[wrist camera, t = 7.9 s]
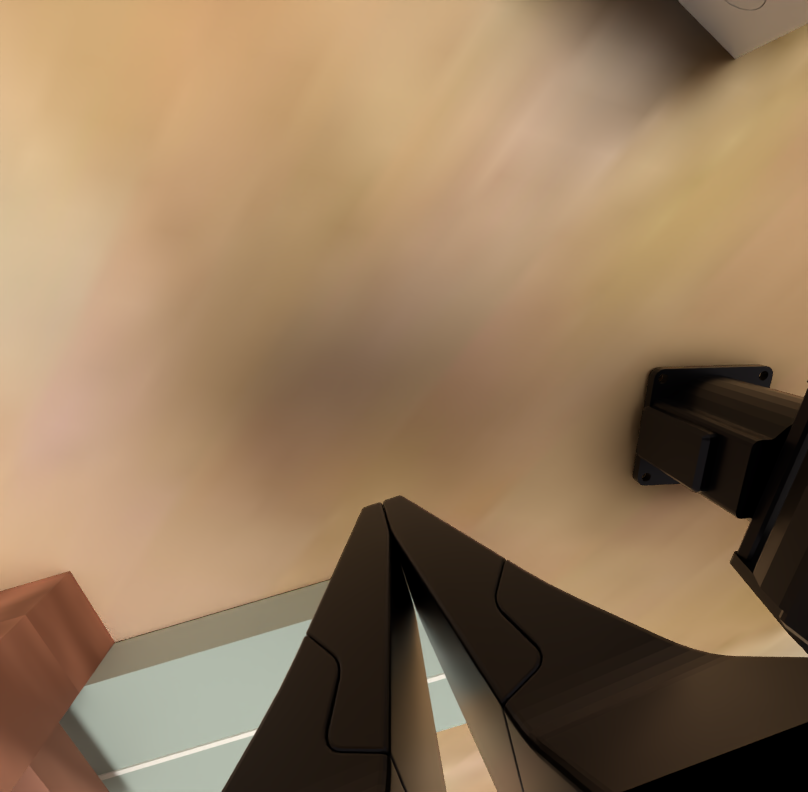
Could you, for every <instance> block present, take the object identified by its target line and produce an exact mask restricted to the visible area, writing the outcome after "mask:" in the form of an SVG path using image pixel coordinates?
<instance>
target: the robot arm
mask: <svg viewBox="0 0 808 792" xmlns="http://www.w3.org/2000/svg"><path fill="white" fill-rule="evenodd" d="M760 373H761V375H760ZM662 374H663V377H662V379H661V380H660V381H659V377H660V376H661V375H662ZM759 375H760V377H759ZM772 376H773V371H772V369H771V368H770V367H767V366H763V365H729V366H693V367H659V368H655V369H654V370H652V372H651V373H650V375H649V379H648V385H647V391H646V397H645V403H644V410H643V413H642V419H641V425H640V432H639V438H638V444H637V450H636V459H635V465H634V471H633V478H634V480H635V481H637V482H638V483H639V484H641V485H664V484H682V485H684V486H685V487H687V488H688V489H690V490H691V491H693V492H696V493H697V492H698V493H699V494H701V495H703V496H704V497H706V498H707V499H709V500H710V501H712V502H713V503H715V504H717V505H718V506H720V507H721V508H723V509H724V510H726V511H728V512H729V513H731V514H732V515H734V516H735V517H737V518H740V519H743V518H745V519H747V520H748V521H750V524H749V526H748V529H747V531H746V533H745V536H744V538H743V540H742V543H741V545H740V547H739V550H738V551H735V552H734V554H733V556H732V558H731V561H730V564H731V565H732V566H733V567H734V569H735V570H736V571H737V572H738V573H739V575H740V576H741V577H742V578H743V579H744V581H745V582H746V583H747V584H748V586H749V587H750V588H751V589H752V590H753V592H754V593H755V594H756V595H757V596H758V598H759V599H760V600H761V601H762V602H763V604H764V605H765V606H766V607H767V608H768V610H769V611H770V612H771V613H772V614H773V616H774V617H775V618H776V619H777V621H778V622H779V623H780V624H781V625H782V627H783V628H784V629H785V630H786V631H787V633H788V634H789V635H790V636H791V637H792V638H793V639H794V640H795V641H796V642H797V643H798V644H799V645H800V646H801V647H802V648H803V649H804V650H805V652H806V653H807V654H808V389H807V391H806V394H805V396H804V397H800V396H796V395H793V394H789V393H785V392H782V391H778V390H774V389H770V384H771V380H772ZM807 382H808V381H807ZM645 473H646V475H645V476H644V477H643V478H642V476H643V475H644V474H645ZM383 506H384V507H383ZM407 584H408V585H407ZM408 587H409V588H408ZM409 590H410V591H409ZM410 593H411V594H410ZM411 597H412V598H411ZM412 600H413V601H412ZM413 603H414V605H415V608H416V611H417V613H418V616H419V618H420V621H421V623H422V625H423V627H424V629H425V632H426V634H427V636H428V638H429V641H430V643H431V645H432V647H433V649H434V652H435V654H436V656H437V658H438V661H439V663H440V665H441V667H442V669H443V672H444V674H445V676H446V678H447V681H448V683H449V685H450V687H451V689H452V692H453V694H454V696H455V698H456V701H457V703H458V705H459V707H460V709H461V712H462V714H463V716H464V718H465V721H466V723H467V725H468V727H469V729H470V732H471V734H472V736H473V738H474V741H475V743H476V745H477V747H478V749H479V752H480V754H481V756H482V758H483V761H484V763H485V765H486V767H487V769H488V772H489V774H490V776H491V778H492V781H493V783H494V785H495V787H496V789H497V792H808V657H751V656H725V655H718V654H711V653H707V652H703V651H699V650H696V649H692V648H689V647H686V646H683V645H681V644H678V643H675V642H673V641H670V640H668V639H666V638H663V637H661V636H659V635H657V634H654V633H652V632H650V631H648V630H646V629H644V628H641V627H639V626H637V625H635V624H633V623H631V622H628V621H626V620H624V619H622V618H620V617H618V616H615V615H613V614H611V613H609V612H607V611H605V610H602V609H600V608H598V607H596V606H594V605H592V604H589V603H587V602H585V601H583V600H581V599H579V598H577V597H575V596H573V595H571V594H569V593H566V592H564V591H562V590H560V589H558V588H556V587H554V586H552V585H550V584H548V583H546V582H545V581H543V580H541V579H539V578H538V577H536V576H534V575H532V574H531V573H529V572H527V571H525V570H523V569H522V568H520V567H518V566H517V565H515V564H514V563H512V562H510V561H509V560H506V559H505V558H503V557H502V556H500V555H498V554H497V553H495V552H494V551H492V550H490V549H489V548H487V547H485V546H484V545H482V544H480V543H479V542H477V541H475V540H474V539H472V538H471V537H469V536H467V535H466V534H464V533H462V532H461V531H459V530H457V529H456V528H454V527H452V526H451V525H449V524H448V523H446V522H444V521H443V520H441V519H439V518H438V517H436V516H434V515H433V514H431V513H429V512H428V511H426V510H424V509H423V508H421V507H420V506H418V505H416V504H415V503H413V502H411V501H410V500H408V499H406V498H405V497H403V496H400V495H399V496H396V497H393V498H390V499H387V500H385V501H384V502H383V505H382V503H376V504H373V505H370V506H367V507H364V508H363V509H362V511H361V513H360V515H359V517H358V520H357V522H356V524H355V526H354V528H353V531H352V533H351V535H350V537H349V539H348V542H347V544H346V546H345V548H344V550H343V553H342V555H341V557H340V559H339V561H338V564H337V566H336V568H335V570H334V573H333V575H332V577H331V579H330V581H329V584H328V586H327V588H326V590H325V592H324V595H323V597H322V599H321V601H320V603H319V606H318V608H317V610H316V612H315V614H314V617H313V619H312V621H311V623H310V625H309V628H308V630H307V632H306V636H305V637H304V638H303V640H302V643H301V645H300V647H299V649H298V651H297V654H296V656H295V658H294V660H293V662H292V664H291V666H290V668H289V670H288V672H287V674H286V676H285V678H284V680H283V682H282V684H281V687H280V689H279V690H278V692H277V694H276V696H275V698H274V699H273V701H272V703H271V705H270V707H269V709H268V710H267V712H266V714H265V716H264V718H263V720H262V721H261V723H260V725H259V727H258V729H257V730H256V732H255V734H254V736H253V737H252V739H251V741H250V742H249V744H248V746H247V748H246V749H245V751H244V753H243V755H242V756H241V758H240V760H239V762H238V763H237V765H236V767H235V769H234V770H233V772H232V774H231V776H230V777H229V779H228V781H227V783H226V784H225V786H224V788H223V789H222V791H221V792H446V786H445V781H444V775H443V769H442V763H441V757H440V752H439V746H438V740H437V734H436V728H435V723H434V717H433V711H432V705H431V699H430V694H429V688H428V682H427V676H426V670H425V665H424V659H423V653H422V647H421V641H420V636H419V630H418V624H417V619H416V614H415V609H414V605H413Z"/></svg>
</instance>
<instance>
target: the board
mask: <svg viewBox="0 0 808 792" xmlns="http://www.w3.org/2000/svg"><path fill="white" fill-rule="evenodd" d="M329 581H330V580H328V581H324V582H321V583H317V584H314V585H311V586H307V587H304V588H300V589H297V590H294V591H290V592H287V593H283V594H280V595H277V596H273V597H270V598H266V599H263V600H260V601H256V602H253V603H249V604H246V605H243V606H239V607H236V608H233V609H229V610H226V611H222V612H219V613H216V614H212V615H209V616H205V617H202V618H199V619H195V620H192V621H188V622H185V623H182V624H178V625H175V626H171V627H168V628H165V629H161V630H158V631H154V632H151V633H148V634H144V635H141V636H137V637H134V638H131V639H127V640H124V641H120V642H117V643H114V644H113V646H112V647H111V648H110V650H109V651H108V653H107V654H106V656H105V657H104V658H103V660H102V661H101V663H100V664H99V666H98V667H97V669H96V670H95V671H94V673H93V674H92V676H91V677H90V679H89V680H88V681H87V683H86V684H85V686H84V687H83V689H82V690H81V692H80V693H79V694H78V696H77V697H76V699H75V700H74V702H73V703H72V704H71V706H70V707H69V709H68V710H67V712H66V713H65V714H64V716H63V717H62V719H61V720H60V722H59V723H60V725H61V726H62V728H63V729H64V730H65V732H66V733H67V734H68V736H69V737H70V738H71V740H72V741H73V743H74V744H75V745H76V747H77V748H78V749H79V751H80V752H81V753H82V755H83V756H84V758H85V759H86V760H87V762H88V763H89V764H90V766H91V767H92V768H93V770H94V771H95V773H96V774H97V775H98V777H99V778H100V779H101V781H102V782H103V783H104V785H105V786H106V788H107V789H108V790H109V792H221V791H222V789H223V788H224V786H225V784H226V783H227V781H228V779H229V777H230V776H231V774H232V772H233V770H234V769H235V767H236V765H237V763H238V762H239V760H240V758H241V756H242V755H243V753H244V751H245V749H246V748H247V746H248V744H249V742H250V741H251V739H252V737H253V736H254V734H255V732H256V730H257V729H258V727H259V725H260V723H261V721H262V720H263V718H264V716H265V714H266V712H267V710H268V709H269V707H270V705H271V703H272V701H273V699H274V698H275V696H276V694H277V692H278V690H279V689H280V687H281V684H282V682H283V680H284V678H285V676H286V674H287V672H288V670H289V668H290V666H291V664H292V662H293V660H294V658H295V656H296V654H297V651H298V649H299V647H300V645H301V643H302V640H303V638H304V637H305V636H306V632H307V630H308V628H309V625H310V623H311V621H312V619H313V617H314V614H315V612H316V610H317V608H318V606H319V603H320V601H321V599H322V597H323V595H324V592H325V590H326V588H327V586H328V584H329ZM407 585H408V584H407ZM408 588H409V587H408ZM409 591H410V590H409ZM410 594H411V593H410ZM411 598H412V597H411ZM412 601H413V600H412ZM413 605H414V603H413ZM414 609H415V614H416V619H417V624H418V630H419V636H420V641H421V647H422V653H423V659H424V665H425V670H426V676H427V682H428V688H429V694H430V699H431V705H432V711H433V717H434V723H435V728H436V732H439V731H442V730H446V729H449V728H452V727H456V726H459V725H462V724H466V721H465V718H464V716H463V714H462V712H461V709H460V707H459V705H458V703H457V701H456V698H455V696H454V694H453V692H452V689H451V687H450V685H449V683H448V681H447V678H446V676H445V674H444V672H443V669H442V667H441V665H440V663H439V661H438V658H437V656H436V654H435V652H434V649H433V647H432V645H431V643H430V641H429V638H428V636H427V634H426V632H425V629H424V627H423V625H422V623H421V621H420V618H419V616H418V613H417V611H416V608H415V605H414Z"/></svg>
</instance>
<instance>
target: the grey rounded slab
mask: <svg viewBox="0 0 808 792" xmlns="http://www.w3.org/2000/svg"><path fill="white" fill-rule="evenodd" d="M678 1H679V2H680V3H681V5H682V6H683V7H684V8H685V9H686V10H687V11H688V12H689V13H690V14H691V15H692V16H693V17H694V18H695V19H696V20H697V21H698V22H699V23H700V24H701V25H702V26H703V27H704V28H705V29H706V30H707V31H708V32H709V33H710V34H711V35H712V36H713V37H714V38H715V39H716V40H717V41H718V42H719V43H720V44H721V45H722V46H723V47H724V48H725V49H726V50H727V51H728V52H729V53H730V54H731V55H732V56H733V57H734V58H735V59H737V58H739V57H741V56H743V55H745V54H747V53H749V52H751V51H753V50H755V49H757V48H759V47H761V46H763V45H765V44H767V43H769V42H771V41H773V40H775V39H777V38H779V37H781V36H783V35H785V34H787V33H789V32H791V31H793V30H795V29H797V28H799V27H801V26H803V25H805V24H807V23H808V0H678Z"/></svg>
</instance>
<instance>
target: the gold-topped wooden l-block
mask: <svg viewBox="0 0 808 792" xmlns="http://www.w3.org/2000/svg"><path fill="white" fill-rule="evenodd" d="M114 643H115V642H114V640H113V639H112V637H111V636H110V634H109V632H108V631H107V629H106V628H105V626H104V625H103V623H102V621H101V620H100V618H99V617H98V615H97V613H96V612H95V610H94V609H93V607H92V605H91V604H90V602H89V601H88V599H87V597H86V596H85V594H84V593H83V591H82V589H81V588H80V586H79V585H78V583H77V581H76V580H75V578H74V577H73V575H72V573H71V572H70V571H69V572H66V573H62V574H59V575H55V576H52V577H48V578H45V579H41V580H38V581H35V582H31V583H28V584H24V585H21V586H17V587H14V588H10V589H7V590H3V591H0V792H109V790H108V789H107V788H106V786H105V785H104V783H103V782H102V781H101V779H100V778H99V777H98V775H97V774H96V773H95V771H94V770H93V768H92V767H91V766H90V764H89V763H88V762H87V760H86V759H85V758H84V756H83V755H82V753H81V752H80V751H79V749H78V748H77V747H76V745H75V744H74V743H73V741H72V740H71V738H70V737H69V736H68V734H67V733H66V732H65V730H64V729H63V728H62V726H61V725H60V723H59V722H60V720H61V719H62V717H63V716H64V714H65V713H66V712H67V710H68V709H69V707H70V706H71V704H72V703H73V702H74V700H75V699H76V697H77V696H78V694H79V693H80V692H81V690H82V689H83V687H84V686H85V684H86V683H87V681H88V680H89V679H90V677H91V676H92V674H93V673H94V671H95V670H96V669H97V667H98V666H99V664H100V663H101V661H102V660H103V658H104V657H105V656H106V654H107V653H108V651H109V650H110V648H111V647H112V646H113V644H114Z"/></svg>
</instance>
